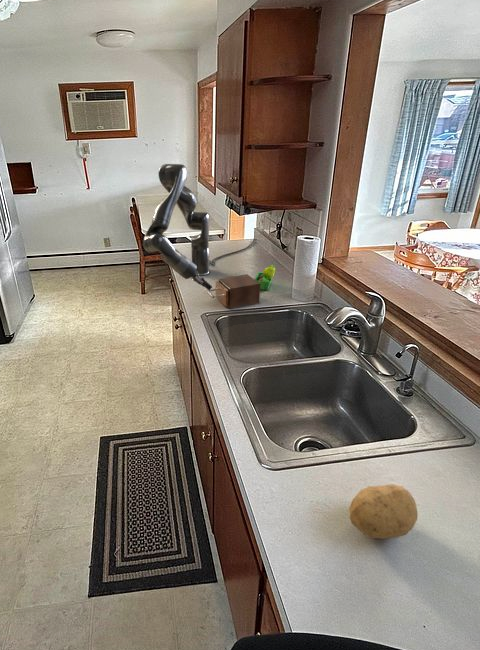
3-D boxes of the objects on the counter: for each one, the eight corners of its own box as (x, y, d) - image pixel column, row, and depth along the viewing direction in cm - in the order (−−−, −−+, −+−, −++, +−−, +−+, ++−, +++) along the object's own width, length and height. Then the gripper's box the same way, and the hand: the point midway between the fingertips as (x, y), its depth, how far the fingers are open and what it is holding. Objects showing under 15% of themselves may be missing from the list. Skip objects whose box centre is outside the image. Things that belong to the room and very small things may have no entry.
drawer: (213, 309, 170) (213, 292, 167) (204, 299, 180) (203, 283, 177) (253, 301, 176) (253, 285, 172) (241, 292, 186) (242, 277, 182)
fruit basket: (257, 281, 199) (258, 260, 194) (275, 283, 196) (276, 262, 192) (253, 290, 189) (254, 268, 185) (272, 292, 187) (273, 269, 182)
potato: (332, 514, 82) (337, 487, 79) (387, 495, 85) (394, 469, 82) (366, 560, 73) (373, 532, 70) (425, 536, 77) (434, 509, 73)
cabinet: (229, 308, 172) (230, 288, 168) (218, 297, 183) (218, 278, 179) (259, 303, 176) (260, 283, 172) (246, 292, 187) (247, 274, 183)
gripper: (194, 264, 158) (221, 287, 166) (183, 254, 170) (210, 276, 178) (182, 278, 159) (210, 300, 167) (172, 267, 171) (199, 289, 179)
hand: (210, 288), depth 173 cm, fingers closed
